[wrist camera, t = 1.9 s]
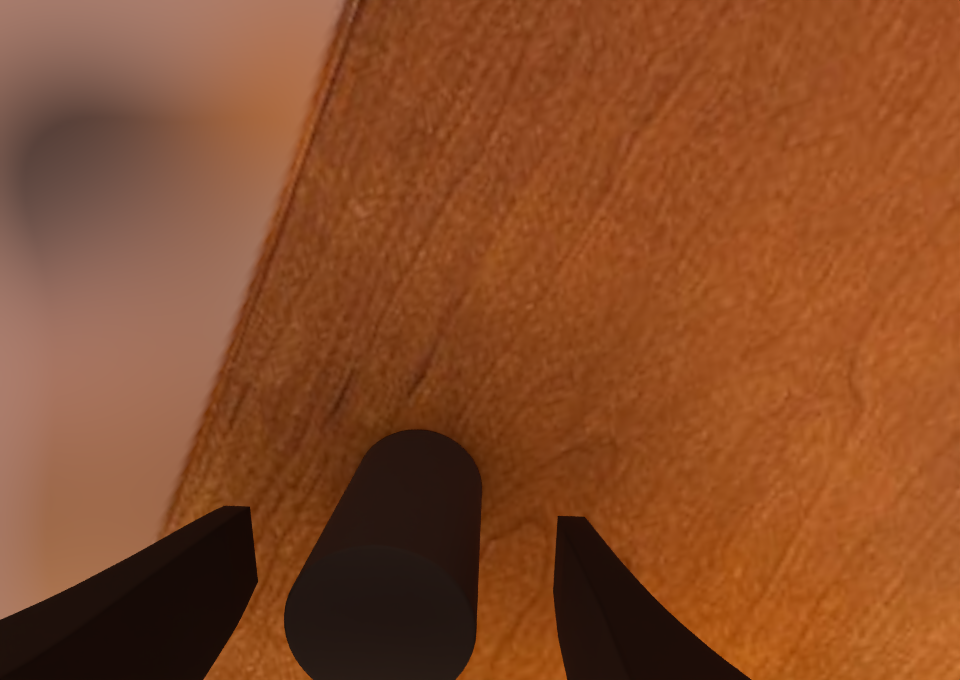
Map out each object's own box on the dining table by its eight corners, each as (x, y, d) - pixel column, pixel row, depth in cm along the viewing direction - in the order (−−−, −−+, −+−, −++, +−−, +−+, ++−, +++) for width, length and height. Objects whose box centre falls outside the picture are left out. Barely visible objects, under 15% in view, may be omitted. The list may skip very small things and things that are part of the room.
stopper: (332, 495, 14) (246, 641, 9) (405, 404, 13) (355, 509, 8) (431, 563, 14) (400, 737, 9) (507, 478, 14) (516, 620, 9)
